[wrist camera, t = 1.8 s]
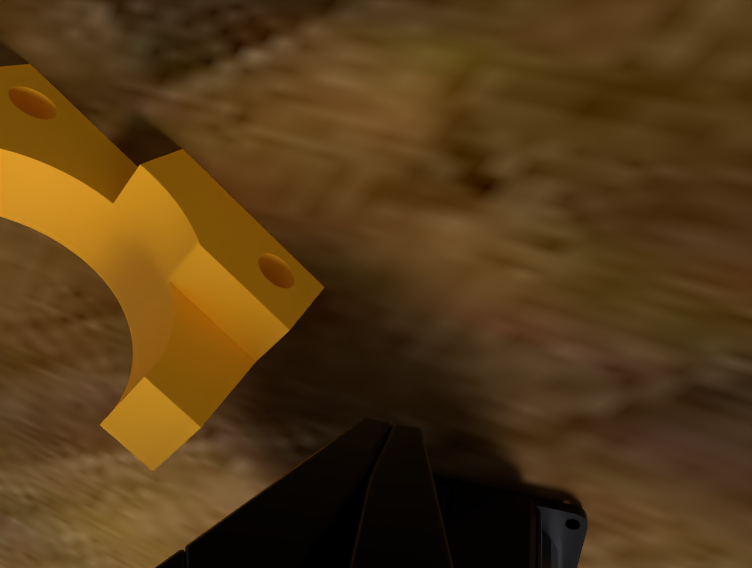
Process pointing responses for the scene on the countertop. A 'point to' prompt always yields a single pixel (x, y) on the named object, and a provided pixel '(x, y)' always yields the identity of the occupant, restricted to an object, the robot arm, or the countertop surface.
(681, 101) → the countertop surface
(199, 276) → the pipe clamp
